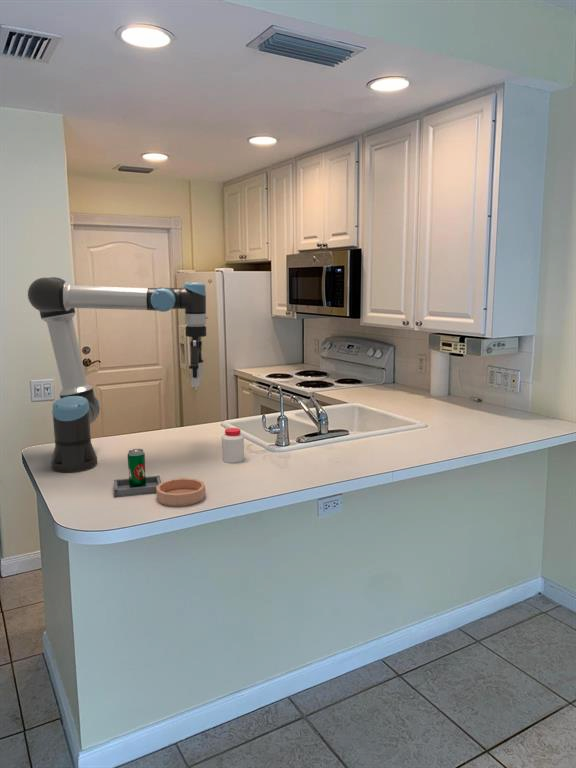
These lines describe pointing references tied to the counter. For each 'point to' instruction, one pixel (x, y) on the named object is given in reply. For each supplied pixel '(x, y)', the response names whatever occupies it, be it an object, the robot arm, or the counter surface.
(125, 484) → the tray
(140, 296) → the robot arm
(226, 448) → the pill bottle
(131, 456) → the soda can
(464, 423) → the counter surface
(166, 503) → the bowl
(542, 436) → the counter surface
